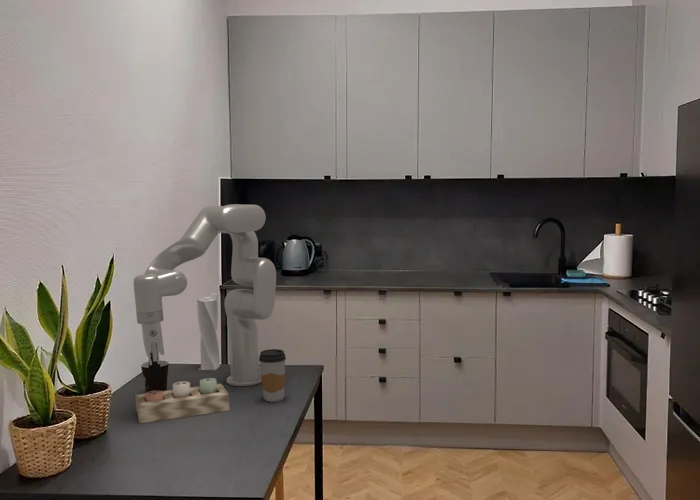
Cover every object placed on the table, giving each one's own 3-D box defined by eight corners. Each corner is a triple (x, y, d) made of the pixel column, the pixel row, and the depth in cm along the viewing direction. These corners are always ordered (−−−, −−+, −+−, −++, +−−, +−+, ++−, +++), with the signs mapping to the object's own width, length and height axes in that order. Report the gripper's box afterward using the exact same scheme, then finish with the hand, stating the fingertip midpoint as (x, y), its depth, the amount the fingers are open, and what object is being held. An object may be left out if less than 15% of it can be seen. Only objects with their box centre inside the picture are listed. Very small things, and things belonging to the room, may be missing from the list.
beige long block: (222, 399, 232) (221, 383, 232) (229, 410, 221) (228, 394, 220) (136, 410, 223) (135, 394, 223) (139, 423, 212) (138, 406, 211)
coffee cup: (289, 394, 234) (287, 348, 233) (284, 403, 226) (282, 355, 224) (263, 394, 235) (261, 348, 234) (258, 403, 227) (255, 355, 225)
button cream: (189, 396, 225) (188, 379, 224) (191, 401, 220) (190, 384, 220) (172, 398, 223) (171, 382, 223) (174, 403, 218) (173, 386, 218)
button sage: (215, 393, 228) (214, 376, 227) (218, 397, 223) (217, 380, 222) (199, 395, 226) (198, 378, 225) (201, 399, 221) (201, 383, 221)
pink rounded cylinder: (162, 405, 222) (161, 388, 222) (164, 410, 218) (163, 393, 217) (145, 408, 221) (144, 391, 220) (147, 413, 216) (146, 395, 215)
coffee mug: (166, 397, 235) (164, 367, 234) (139, 398, 235) (137, 367, 234) (175, 386, 246) (173, 357, 245) (149, 387, 247) (148, 358, 246)
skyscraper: (225, 365, 272) (221, 291, 269) (218, 372, 264) (215, 294, 261) (202, 365, 273) (198, 291, 270) (196, 372, 265) (191, 295, 262)
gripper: (166, 320, 210) (171, 382, 213) (160, 309, 224) (165, 368, 227) (138, 323, 208) (144, 386, 210) (134, 313, 222) (140, 372, 224)
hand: (155, 376), depth 219 cm, fingers closed
